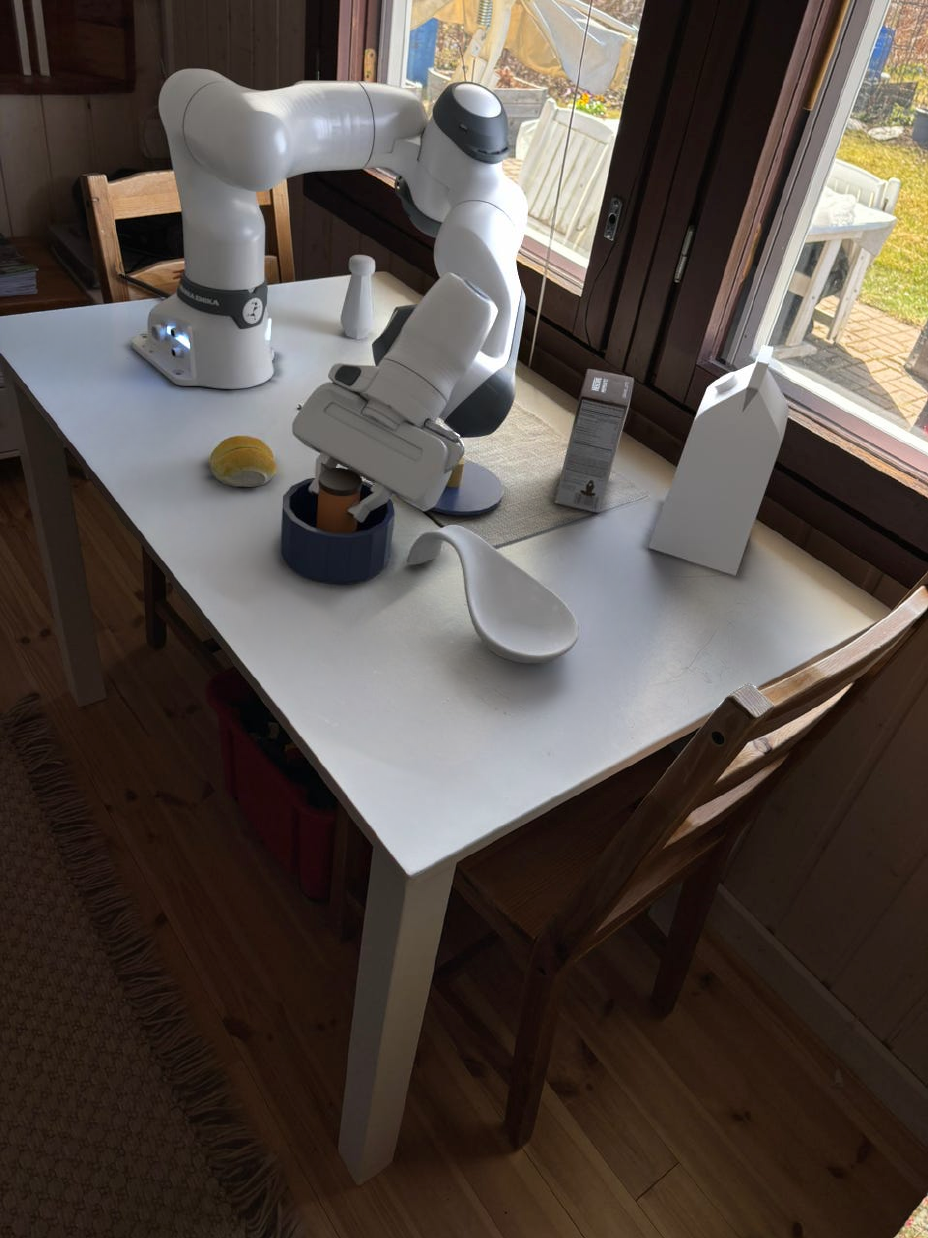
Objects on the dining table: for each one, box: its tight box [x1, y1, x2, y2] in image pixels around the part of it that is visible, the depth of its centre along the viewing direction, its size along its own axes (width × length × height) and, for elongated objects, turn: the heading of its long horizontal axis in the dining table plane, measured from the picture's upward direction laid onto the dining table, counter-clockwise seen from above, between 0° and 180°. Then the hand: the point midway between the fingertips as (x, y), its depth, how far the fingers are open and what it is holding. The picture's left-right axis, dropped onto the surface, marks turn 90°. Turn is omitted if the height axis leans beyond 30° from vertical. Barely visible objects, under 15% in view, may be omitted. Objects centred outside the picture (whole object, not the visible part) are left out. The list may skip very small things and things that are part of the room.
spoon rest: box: [406, 524, 580, 664], centre depth 105 cm, size 24×12×7 cm, turn 40°
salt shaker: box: [340, 254, 376, 340], centre depth 158 cm, size 6×6×13 cm
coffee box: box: [554, 368, 635, 514], centre depth 126 cm, size 9×6×16 cm
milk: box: [647, 344, 790, 576], centre depth 118 cm, size 12×12×26 cm
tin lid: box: [429, 457, 504, 516], centre depth 125 cm, size 14×14×5 cm
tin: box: [280, 477, 396, 586], centre depth 110 cm, size 13×13×7 cm
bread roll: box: [208, 435, 278, 488], centre depth 122 cm, size 8×9×4 cm
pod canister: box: [316, 467, 363, 533], centre depth 108 cm, size 5×5×8 cm
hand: (334, 506), depth 107 cm, fingers closed on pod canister, 5 cm apart
